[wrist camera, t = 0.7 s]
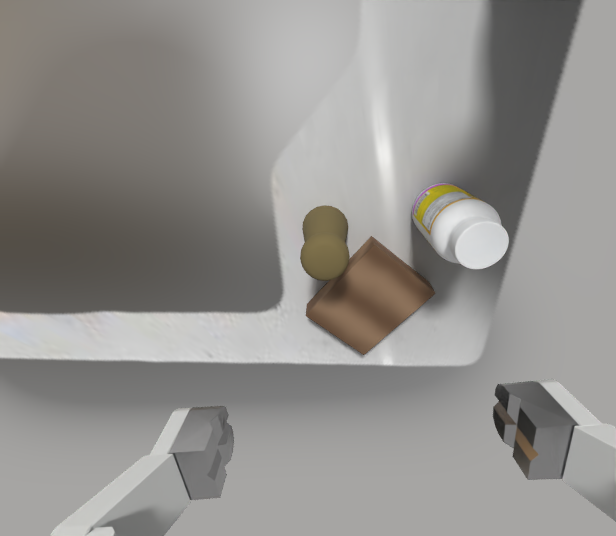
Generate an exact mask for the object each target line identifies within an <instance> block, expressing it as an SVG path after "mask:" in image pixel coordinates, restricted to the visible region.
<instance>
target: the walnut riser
mask: <svg viewBox="0 0 616 536" xmlns="http://www.w3.org/2000/svg"><path fill="white" fill-rule="evenodd" d="M434 294H435V291H434V290H433V288H432V286H431V285H430V283H429V282H428V281H427V280H426V279H424V278H423V277H422V276H421V275H419V274H418V273H417V272H416V271H414V270H413V269H412V268H411V267H409V266H408V265H407V264H406V263H404V262H403V261H402V260H401V259H399V258H398V257H397V256H396V255H394V254H393V253H392V252H391V251H389V250H388V249H387V248H386V247H384V246H383V245H382V244H381V243H379V242H378V241H377V240H376V239H375V238H373V237H372V236H371V237H370V238H369V239H368V240H367V241H366V243H365V244H364V245H363V246H362V247H361V248H360V249H359V250H358V251H357V252H356V253H355V254H354V255H353V256H352V257H351V258H350V259H349V264H348V266H347V268H346V270H345V271H344V272H343V273H342V274H341V275H340V276H339V277H337V278H335V279H333V280H329V282H328V283H327V284H326V285H325V286H324V287H323V288H322V289H321V290H320V291H319V292H318V293H317V294H316V295H315V296H314V297H313V298H312V299H311V301H310V302H309V303H308V304H307V309H306V316H307V317H308V318H310V319H311V320H313V321H314V322H316V323H317V324H319V325H320V326H322V327H323V328H325V329H326V330H328V331H329V332H330V333H332V334H333V335H335V336H336V337H338V338H339V339H341V340H342V341H344V342H345V343H347V344H348V345H350V346H351V347H353V348H354V349H356V350H357V351H359V352H360V353H361V354H363V355H364V354H366V353H367V352H368V351H369V350H370V349H371V348H373V347H374V346H375V345H376V344H377V343H378V342H380V341H381V340H382V339H383V338H384V337H385V336H386V335H388V334H389V333H390V332H391V331H392V330H393V329H395V328H396V327H397V326H398V325H399V324H400V323H402V322H403V321H404V320H405V319H406V318H407V317H409V316H410V315H411V314H412V313H413V312H414V311H416V310H417V309H418V308H419V307H420V306H421V305H423V304H424V303H425V302H426V301H427V300H428V299H430V298H431V297H432V296H433V295H434Z"/></svg>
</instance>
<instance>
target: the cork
mask: <svg viewBox="0 0 616 536" xmlns="http://www.w3.org/2000/svg"><path fill="white" fill-rule="evenodd" d="M347 231H348V223H347V219H346V218H345V216H344V214H343V213H342V212H341V211H340V210H338V209H337V208H334V207H332V206H320V207H316V208H315V209H313V210H311V211H310V212H309V213H308V214H307V215H306V217H305V219H304V221H303V234H304V240H305V243H304V245H303V247H302V250H301V257H300V259H301V263H302V266H303V268H304V270H305V271H306V273H307V274H308V275H310V276H311V277H312V278H315V279H317V280H323V281H328V280H333V279H335V278H337V277H339V276H340V275H341V274H342V273H343V272H344V271H345V270H346V268H347V266H348V264H349V257H350V256H349V251H348V247H347V245H346V244H345V241H346V237H347Z"/></svg>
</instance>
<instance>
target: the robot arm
mask: <svg viewBox="0 0 616 536" xmlns="http://www.w3.org/2000/svg"><path fill="white" fill-rule="evenodd" d="M495 396H496V397H497V399H498V400H499V402H498V403H497V404H496V405H495V406H494V407H493V419H494V423H495V427H496V429H497V431H498V434H499V435H500V437H501V439H502V440H503V442H504V443H506V444H508V445H509V446H510V447H512V448H514V451H513V458H514V459H515V461H516V462H517V464H518V465H519V467H520V469H521V470H522V472H523V473H524V475H525V476H526V478H527V479H528V480H535V479H562V481H564V482H565V483H566V484H568V485H569V486H570V487H571V488H573V489H574V490H575V491H577V492H578V493H579V494H580V495H582V496H583V497H585V498H586V499H587V500H588V501H590V502H591V503H593V504H594V505H595V506H596V507H597V508H599V509H600V510H601V511H603V512H604V513H606V514H607V515H608V516H609V517H611V518H612V519H613V520H615V521H616V427H614V426H612V425H610V424H602V423H601V422H600V421H599V420H598V419H597V418H595V416H593V415H592V414H591V413H590V412H589V411H588V410H587V409H586V408H585V407H584V406H583V405H582V404H581V403H580V402H579V401H578V400H577V399H576V398H575V397H574V396H573V395H572V394H571V393H569V392H568V391H567V390H566V389H565V388H564V387H563V386H562V385H561V384H560V383H559V382H558V381H556V380H554V379H548V380H538V381H528V382H517V383H505V384H498V385H497V387H496V389H495ZM227 418H228V412H227V409H226V407H225V406H210V407H193V408H180V409H176V410H175V411H174V412H173V413H172V415H171V417H170V418H169V420H168V422H167V424H166V426H165V428H164V430H163V431H162V433H161V435H160V437H159V439H158V440H157V443H156V444H155V446H154V448H153V449H152V451H151V453H150V455H146V456H143V457H142V458H141V459H140V460H138V461H137V462H136V463H135V464H133V465H132V466H131V467H130V468H129V469H127V470H126V471H125V472H124V473H123V474H121V475H120V476H119V477H117V478H116V479H115V480H114V481H113V482H111V483H110V484H109V485H108V486H106V487H105V488H104V489H103V490H101V491H100V492H99V493H98V494H96V495H95V496H94V497H93V498H92V499H90V500H89V501H88V502H87V503H85V504H84V505H83V506H82V507H81V508H79V509H78V510H77V511H75V513H73V514H72V515H71V516H69V517H68V518H67V519H66V520H65V521H63V522H62V523H61V524H59V525H58V526H57V527H56V528H55V529H54V531H53V532H52V533H51V535H50V536H164V535H165V534H166V532H167V531H168V530H169V529H170V527H171V526H172V525H173V524H174V522H175V521H176V520H177V519H178V517H179V516H180V515H181V514H182V513H183V511H184V510H185V509H186V508H187V506H188V505H189V504H190V503H191V501H190V500H198V499H210V498H220V496H221V492H222V489H223V485H224V482H225V478H226V475H227V474H226V471H225V467H224V466H225V465H226V464H227V463H228V462H229V461H230V460H231V456H232V453H233V445H234V437H233V430H232V426H231V425H229V424H228V423H227Z"/></svg>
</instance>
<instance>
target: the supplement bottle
mask: <svg viewBox="0 0 616 536" xmlns="http://www.w3.org/2000/svg"><path fill="white" fill-rule="evenodd" d="M412 218H413V221H414V224H415V225H416V227H417V228H418V229H419V231H420V232H421V233H422V234H423V236H424V237H425V238H426V239H427V241H428V242H429V243H430V244H431V246H432V247H433V248H434V250H435V251H436V252H437V253H438V254H439V255H440V256H441V257H442V258H443V259H445V260H447V261H449V262H452V263H457V264H461V265H463V266H464V267H467V268H470V269H483V268H487V267H489V266H491V265H493V264H495V263H496V262H498V261H499V260H500V259H501V258H502V257H503V255H504V254H505V252H506V250H507V248H508V244H509V237H508V234H507V232H506V230H505V229H504V228H503V227H502V224H501V219H500V217H499V214H498V213H497V211H496V210H495V209H494V208H493V207H492V206H490V205H489V204H487V203H486V202H484V201H482V200H480V199H478V198H476V197H475V196H473V195H471V194H469V193H467V192H466V191H464V190H462V189H460V188H459V187H457V186H455V185H452V184H448V183H438V184H434V185H432V186H430V187H428V188H426V189H425V190H423V191H422V192H421V193H420V194H419V195H418V197H417V198H416V200H415V202H414V204H413V207H412Z"/></svg>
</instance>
